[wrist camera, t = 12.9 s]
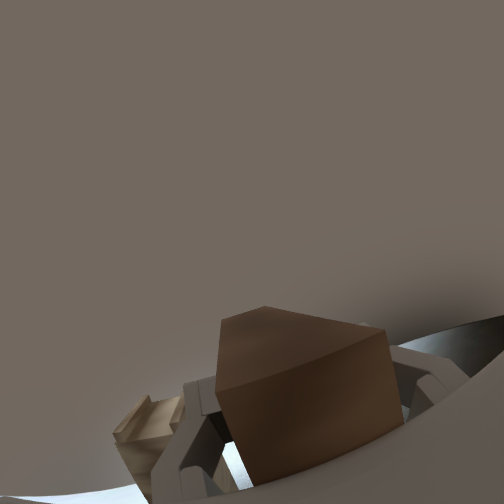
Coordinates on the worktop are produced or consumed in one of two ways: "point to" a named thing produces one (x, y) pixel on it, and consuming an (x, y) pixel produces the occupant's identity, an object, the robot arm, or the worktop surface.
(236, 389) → the walnut bar
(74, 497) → the worktop surface
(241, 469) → the worktop surface
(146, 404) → the shelf block
